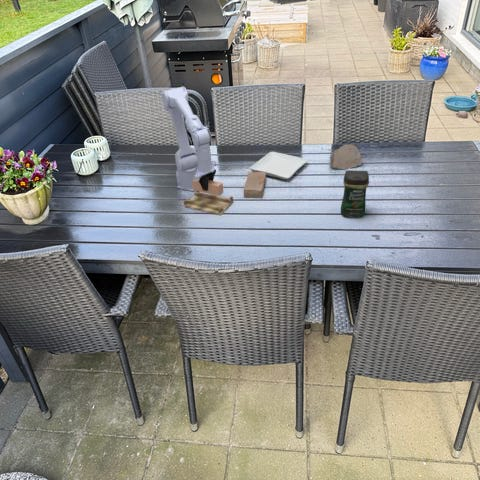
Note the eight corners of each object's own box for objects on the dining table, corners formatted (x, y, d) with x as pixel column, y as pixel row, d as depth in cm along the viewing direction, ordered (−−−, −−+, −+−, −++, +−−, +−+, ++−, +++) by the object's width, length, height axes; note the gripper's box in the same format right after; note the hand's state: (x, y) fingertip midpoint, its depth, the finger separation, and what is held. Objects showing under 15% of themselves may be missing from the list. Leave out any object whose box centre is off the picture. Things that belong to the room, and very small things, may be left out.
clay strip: (193, 190, 191) (191, 180, 188) (197, 186, 193) (196, 177, 191) (219, 196, 185) (218, 186, 183) (223, 192, 188) (222, 182, 185)
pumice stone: (331, 170, 211) (332, 150, 205) (328, 163, 217) (329, 144, 211) (363, 168, 210) (365, 148, 204) (360, 161, 216) (362, 142, 211)
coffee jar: (340, 218, 178) (344, 176, 167) (340, 207, 184) (343, 167, 173) (366, 219, 176) (371, 177, 165) (364, 208, 183) (369, 167, 172)
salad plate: (309, 164, 218) (309, 158, 216) (288, 184, 204) (288, 177, 202) (270, 156, 228) (270, 150, 225) (248, 174, 213) (248, 168, 211)
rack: (184, 207, 193) (183, 201, 191) (198, 194, 200) (197, 189, 199) (220, 215, 185) (220, 209, 183) (233, 202, 193) (232, 196, 191)
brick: (262, 199, 194) (262, 189, 192) (243, 198, 196) (242, 189, 193) (266, 180, 208) (266, 171, 205) (248, 180, 209) (248, 171, 206)
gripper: (203, 168, 174) (207, 198, 182) (221, 152, 184) (224, 181, 192) (187, 165, 177) (192, 195, 185) (206, 150, 187) (210, 179, 195)
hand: (207, 188), depth 188 cm, fingers closed on clay strip, 3 cm apart
